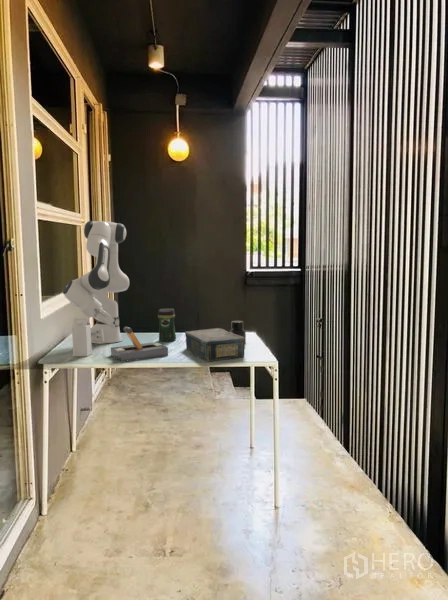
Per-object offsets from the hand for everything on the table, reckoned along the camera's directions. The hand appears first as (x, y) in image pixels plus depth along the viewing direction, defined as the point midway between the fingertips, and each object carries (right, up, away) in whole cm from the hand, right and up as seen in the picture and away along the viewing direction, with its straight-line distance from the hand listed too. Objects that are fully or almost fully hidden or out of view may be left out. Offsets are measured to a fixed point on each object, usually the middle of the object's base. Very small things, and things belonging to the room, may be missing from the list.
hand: (113, 326), depth 229 cm
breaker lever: (+11, -11, +8) cm, 17 cm away
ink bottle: (+61, -11, +35) cm, 71 cm away
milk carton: (-18, -15, +11) cm, 26 cm away
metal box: (+48, -14, +12) cm, 52 cm away
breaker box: (+11, -15, +8) cm, 20 cm away
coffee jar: (+21, -11, +45) cm, 51 cm away
